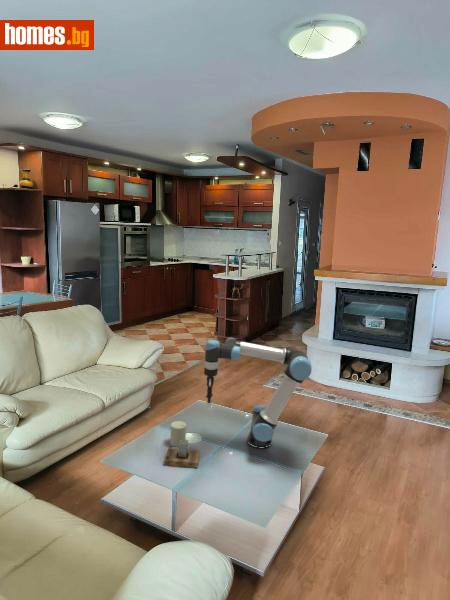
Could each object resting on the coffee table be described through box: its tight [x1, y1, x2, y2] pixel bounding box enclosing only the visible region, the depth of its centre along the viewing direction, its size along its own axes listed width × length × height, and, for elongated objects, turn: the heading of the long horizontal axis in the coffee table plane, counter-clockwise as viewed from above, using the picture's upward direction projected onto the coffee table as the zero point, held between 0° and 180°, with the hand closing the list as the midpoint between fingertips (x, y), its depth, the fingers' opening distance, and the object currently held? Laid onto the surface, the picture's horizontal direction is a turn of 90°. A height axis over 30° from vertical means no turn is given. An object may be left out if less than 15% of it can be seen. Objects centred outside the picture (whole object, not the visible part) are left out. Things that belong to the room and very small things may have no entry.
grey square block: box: [177, 439, 189, 459], centre depth 224 cm, size 4×4×11 cm
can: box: [169, 420, 187, 448], centre depth 241 cm, size 9×9×12 cm
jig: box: [163, 445, 201, 468], centre depth 224 cm, size 18×12×5 cm, turn 89°
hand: (208, 407), depth 233 cm, fingers closed
